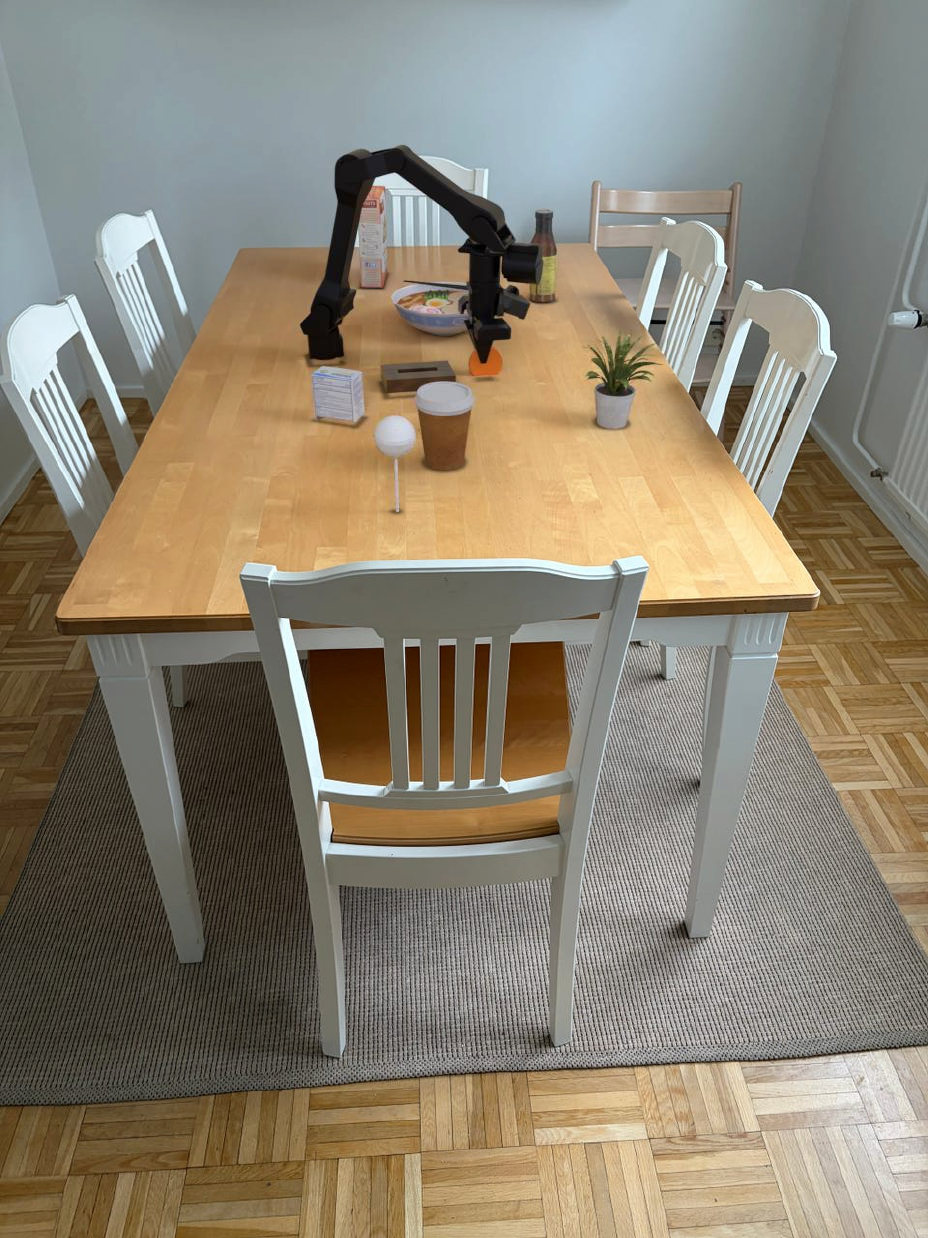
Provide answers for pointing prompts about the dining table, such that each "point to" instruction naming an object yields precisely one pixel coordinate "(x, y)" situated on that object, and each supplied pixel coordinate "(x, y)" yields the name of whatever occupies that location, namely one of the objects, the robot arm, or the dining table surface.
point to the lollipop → (395, 441)
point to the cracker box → (373, 239)
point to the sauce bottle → (545, 258)
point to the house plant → (617, 382)
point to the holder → (415, 375)
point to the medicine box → (338, 393)
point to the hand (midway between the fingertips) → (482, 361)
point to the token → (488, 368)
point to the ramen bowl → (432, 306)
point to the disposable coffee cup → (444, 422)
